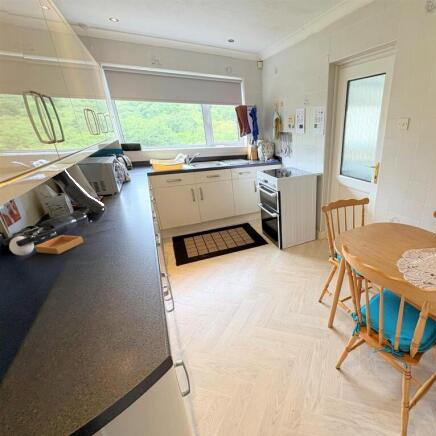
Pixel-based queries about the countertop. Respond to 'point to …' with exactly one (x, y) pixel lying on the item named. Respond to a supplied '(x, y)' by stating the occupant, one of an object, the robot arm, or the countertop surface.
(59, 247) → the bin
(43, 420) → the countertop surface
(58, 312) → the countertop surface
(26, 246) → the egg
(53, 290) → the countertop surface
